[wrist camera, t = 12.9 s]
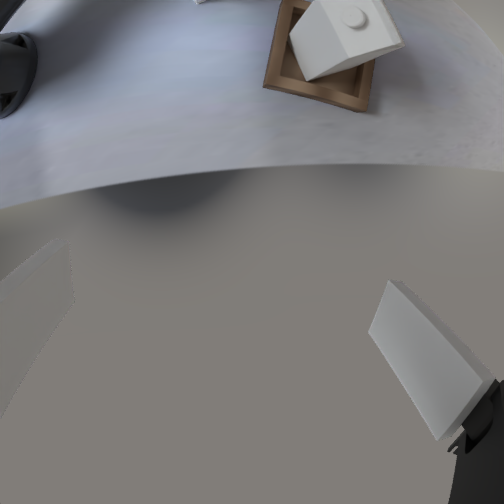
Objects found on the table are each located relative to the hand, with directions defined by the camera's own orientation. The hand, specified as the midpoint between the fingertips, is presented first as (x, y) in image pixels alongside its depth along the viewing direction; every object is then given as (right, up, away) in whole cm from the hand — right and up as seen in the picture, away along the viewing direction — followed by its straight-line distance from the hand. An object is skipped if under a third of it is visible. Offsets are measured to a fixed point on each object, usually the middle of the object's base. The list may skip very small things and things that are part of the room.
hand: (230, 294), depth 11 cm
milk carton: (+10, +29, +23) cm, 38 cm away
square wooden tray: (+10, +29, +24) cm, 39 cm away
